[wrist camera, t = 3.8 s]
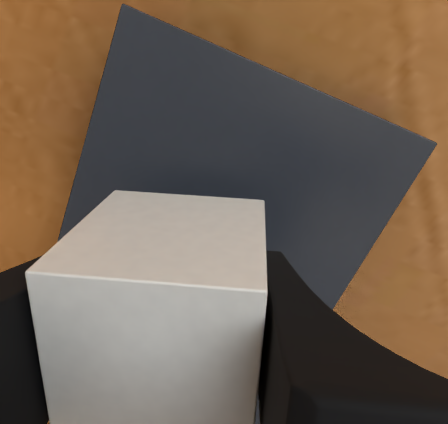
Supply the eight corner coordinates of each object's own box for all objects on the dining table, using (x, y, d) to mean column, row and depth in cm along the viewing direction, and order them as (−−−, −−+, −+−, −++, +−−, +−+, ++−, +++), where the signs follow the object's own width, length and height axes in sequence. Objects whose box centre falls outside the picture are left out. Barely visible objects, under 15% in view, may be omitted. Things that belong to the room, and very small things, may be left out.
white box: (253, 326, 13) (251, 467, 8) (122, 314, 13) (52, 445, 9) (264, 199, 11) (267, 291, 7) (114, 189, 12) (23, 271, 7)
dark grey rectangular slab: (258, 381, 19) (258, 427, 16) (59, 305, 18) (30, 341, 16) (408, 129, 14) (437, 143, 12) (145, 12, 13) (121, 2, 11)
